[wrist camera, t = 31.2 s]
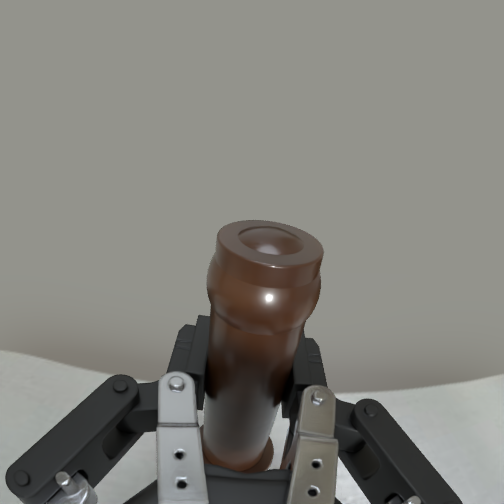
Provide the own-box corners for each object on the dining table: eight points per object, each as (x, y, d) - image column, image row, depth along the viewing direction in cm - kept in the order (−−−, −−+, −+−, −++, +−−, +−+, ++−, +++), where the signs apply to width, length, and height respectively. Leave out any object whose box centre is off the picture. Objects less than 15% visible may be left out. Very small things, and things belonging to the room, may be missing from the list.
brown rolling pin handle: (207, 507, 13) (230, 276, 7) (182, 449, 17) (180, 207, 10) (277, 485, 15) (376, 258, 9) (246, 432, 19) (295, 204, 12)
